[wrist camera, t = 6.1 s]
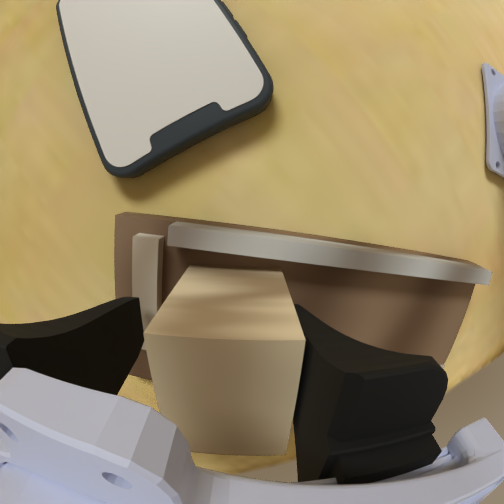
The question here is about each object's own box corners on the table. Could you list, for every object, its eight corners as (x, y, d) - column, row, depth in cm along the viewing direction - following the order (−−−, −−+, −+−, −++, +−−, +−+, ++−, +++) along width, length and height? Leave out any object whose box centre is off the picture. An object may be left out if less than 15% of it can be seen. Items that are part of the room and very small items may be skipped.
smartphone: (62, 9, 10) (123, 189, 13) (52, 0, 8) (108, 189, 11) (172, -53, 9) (282, 106, 12) (168, -66, 7) (286, 96, 10)
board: (468, 260, 14) (492, 271, 11) (423, 379, 16) (438, 399, 13) (126, 212, 13) (103, 218, 10) (130, 361, 15) (115, 385, 13)
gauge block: (280, 267, 12) (305, 339, 6) (274, 360, 14) (285, 455, 8) (189, 265, 12) (143, 333, 6) (195, 358, 13) (170, 448, 8)
